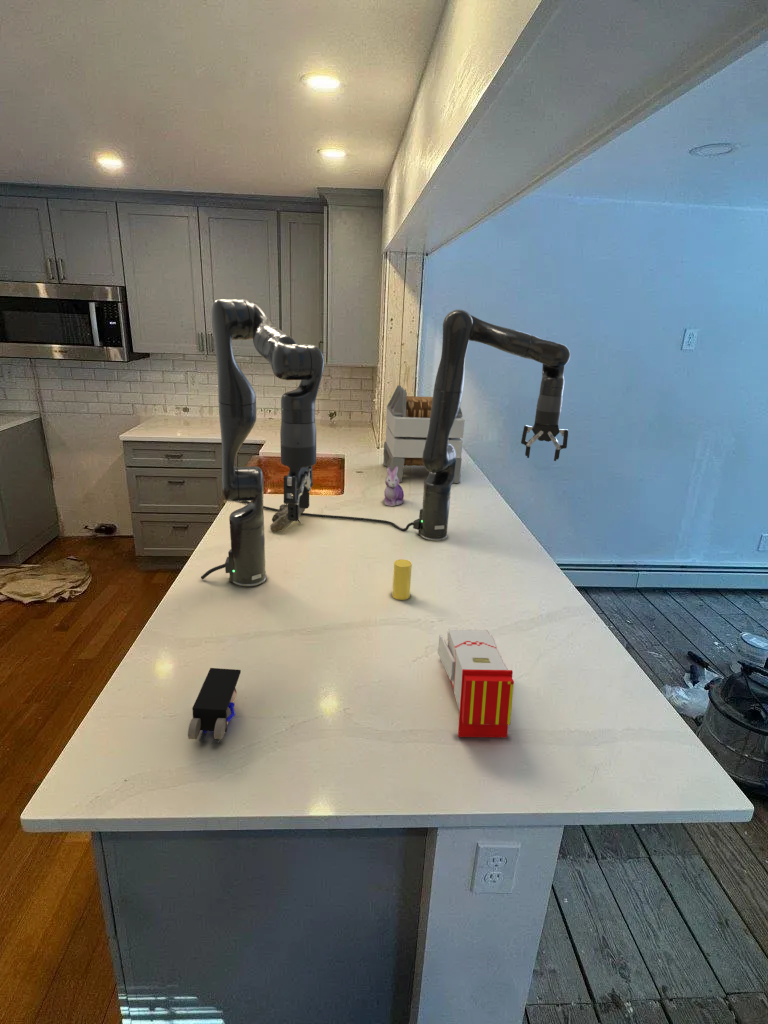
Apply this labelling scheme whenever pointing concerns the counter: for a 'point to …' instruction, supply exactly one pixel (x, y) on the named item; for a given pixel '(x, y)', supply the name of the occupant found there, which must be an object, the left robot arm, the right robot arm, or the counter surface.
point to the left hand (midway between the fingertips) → (299, 513)
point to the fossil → (283, 518)
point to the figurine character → (214, 704)
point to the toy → (478, 682)
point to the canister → (401, 579)
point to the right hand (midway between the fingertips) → (541, 458)
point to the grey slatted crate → (414, 432)
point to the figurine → (393, 488)
